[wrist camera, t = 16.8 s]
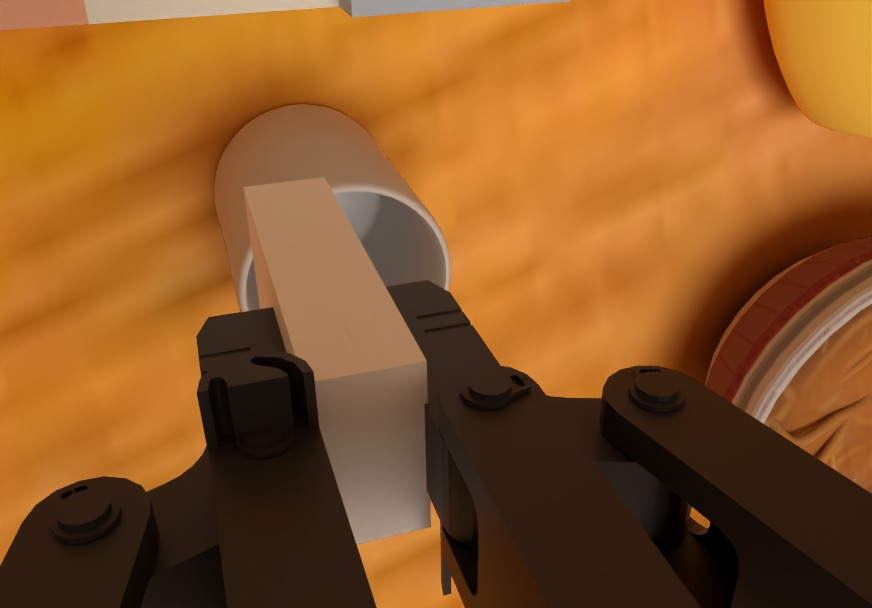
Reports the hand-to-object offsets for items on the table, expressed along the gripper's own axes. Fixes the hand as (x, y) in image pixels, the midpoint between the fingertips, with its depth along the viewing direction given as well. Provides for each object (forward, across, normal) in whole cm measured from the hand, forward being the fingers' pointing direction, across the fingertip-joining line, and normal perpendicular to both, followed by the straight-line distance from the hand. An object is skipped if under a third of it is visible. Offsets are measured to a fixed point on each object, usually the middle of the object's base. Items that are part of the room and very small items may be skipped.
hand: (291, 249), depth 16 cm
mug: (+25, +4, -10) cm, 27 cm away
